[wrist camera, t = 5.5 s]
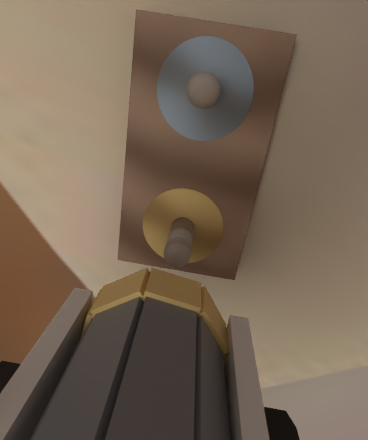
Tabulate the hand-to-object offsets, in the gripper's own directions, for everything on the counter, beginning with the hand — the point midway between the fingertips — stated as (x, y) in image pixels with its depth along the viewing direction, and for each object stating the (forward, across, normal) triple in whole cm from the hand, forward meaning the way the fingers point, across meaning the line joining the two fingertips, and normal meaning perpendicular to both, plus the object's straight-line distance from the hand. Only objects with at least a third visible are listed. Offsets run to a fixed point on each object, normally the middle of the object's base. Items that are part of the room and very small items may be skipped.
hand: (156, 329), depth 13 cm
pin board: (+13, 0, +5) cm, 14 cm away
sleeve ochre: (0, 0, 0) cm, 0 cm away
